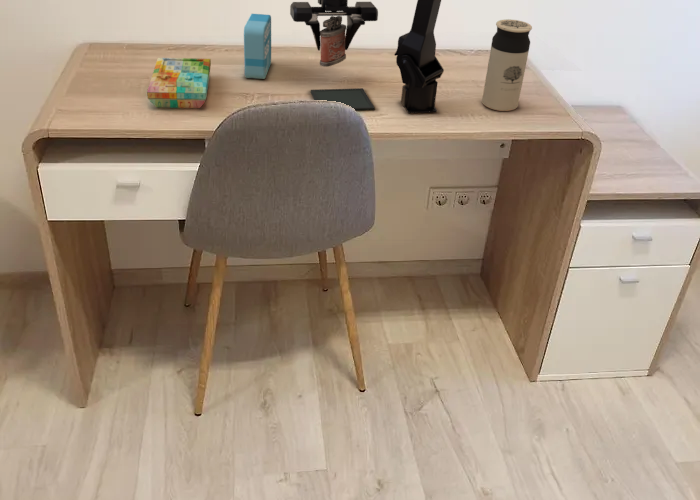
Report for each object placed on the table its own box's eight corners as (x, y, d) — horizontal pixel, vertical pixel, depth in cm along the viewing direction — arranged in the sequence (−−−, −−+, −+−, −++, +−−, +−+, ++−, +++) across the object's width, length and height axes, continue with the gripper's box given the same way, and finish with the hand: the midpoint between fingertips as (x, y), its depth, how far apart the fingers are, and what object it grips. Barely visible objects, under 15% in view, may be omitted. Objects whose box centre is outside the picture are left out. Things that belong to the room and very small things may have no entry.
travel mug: (479, 96, 170) (492, 17, 160) (514, 99, 170) (529, 20, 160) (483, 110, 163) (497, 29, 153) (520, 113, 163) (536, 31, 153)
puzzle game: (146, 88, 151) (157, 53, 167) (148, 109, 153) (159, 74, 170) (205, 89, 152) (210, 55, 169) (206, 110, 155) (211, 75, 171)
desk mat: (362, 90, 169) (362, 88, 168) (374, 110, 160) (374, 107, 160) (310, 92, 166) (310, 89, 166) (319, 112, 157) (319, 109, 157)
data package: (264, 81, 170) (263, 29, 163) (244, 79, 170) (243, 27, 163) (271, 63, 180) (271, 13, 173) (252, 61, 180) (252, 11, 173)
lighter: (337, 55, 174) (337, 11, 168) (349, 58, 172) (349, 14, 167) (316, 64, 168) (316, 20, 163) (328, 67, 167) (328, 23, 161)
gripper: (368, -31, 168) (364, 37, 177) (286, -31, 165) (286, 38, 173) (381, -18, 160) (375, 53, 168) (294, -18, 156) (293, 55, 164)
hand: (332, 49), depth 169 cm, fingers closed on lighter, 6 cm apart
